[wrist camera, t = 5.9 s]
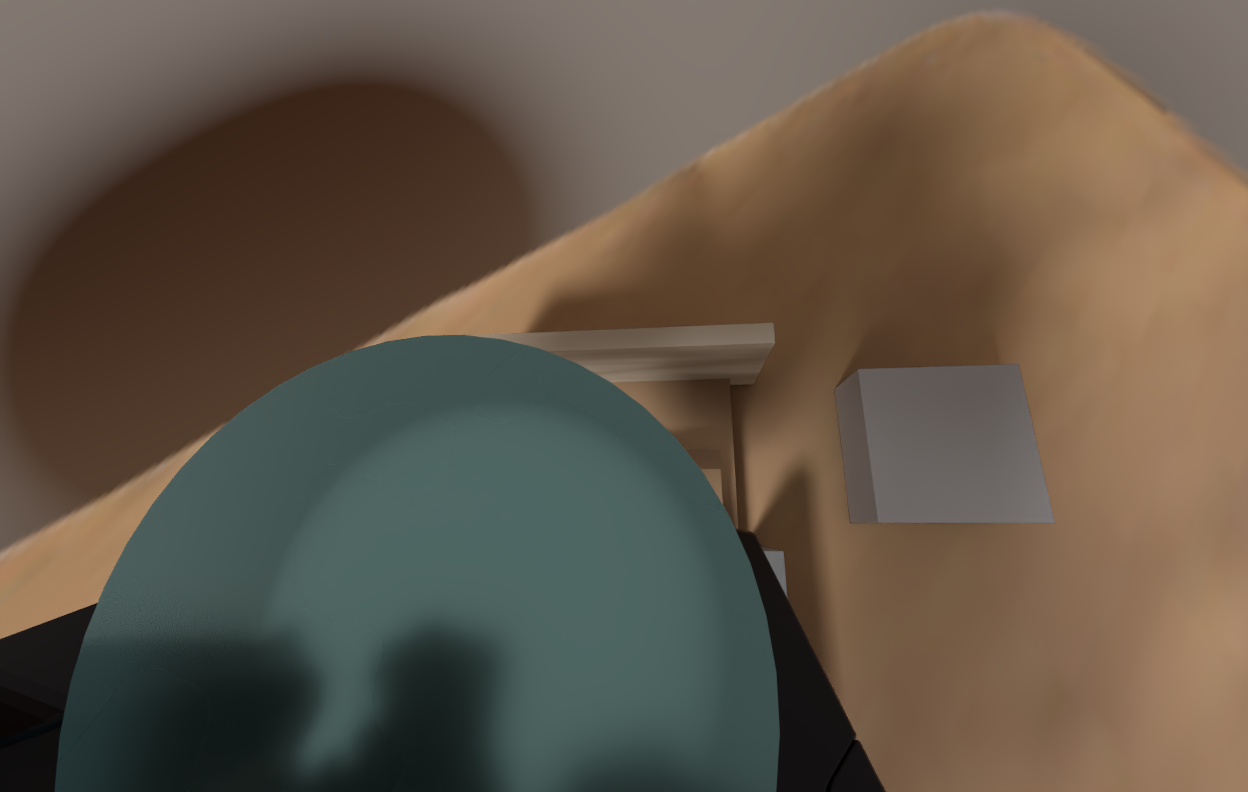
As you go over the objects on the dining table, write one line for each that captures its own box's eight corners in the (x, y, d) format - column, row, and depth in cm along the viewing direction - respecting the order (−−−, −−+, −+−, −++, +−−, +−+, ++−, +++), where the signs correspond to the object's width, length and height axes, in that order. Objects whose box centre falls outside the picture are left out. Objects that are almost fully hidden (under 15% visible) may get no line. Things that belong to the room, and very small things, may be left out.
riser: (1000, 523, 20) (1054, 522, 17) (850, 522, 20) (878, 522, 18) (973, 385, 21) (1018, 364, 19) (834, 389, 22) (857, 369, 19)
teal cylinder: (729, 637, 12) (934, 1056, 2) (543, 698, 12) (30, 1331, 3) (665, 451, 13) (636, 255, 4) (499, 505, 14) (70, 446, 4)
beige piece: (774, 673, 19) (808, 727, 14) (474, 662, 21) (407, 708, 15) (752, 368, 23) (773, 322, 17) (496, 376, 24) (447, 336, 19)
